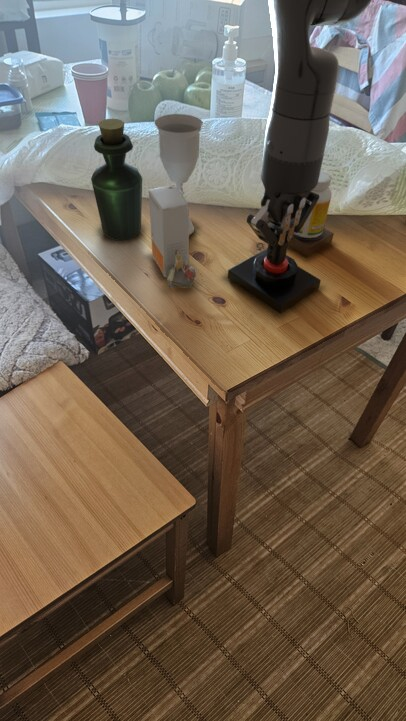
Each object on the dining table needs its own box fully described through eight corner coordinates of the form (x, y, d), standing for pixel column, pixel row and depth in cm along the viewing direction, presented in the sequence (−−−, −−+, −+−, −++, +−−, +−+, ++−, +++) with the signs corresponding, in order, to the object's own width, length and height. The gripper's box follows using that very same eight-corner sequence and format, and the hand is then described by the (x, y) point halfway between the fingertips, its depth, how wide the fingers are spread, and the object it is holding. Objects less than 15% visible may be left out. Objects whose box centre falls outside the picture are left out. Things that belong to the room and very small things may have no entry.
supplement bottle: (287, 235, 84) (297, 180, 77) (294, 219, 87) (303, 165, 80) (320, 242, 82) (332, 187, 76) (325, 225, 86) (338, 171, 79)
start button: (291, 271, 77) (293, 262, 76) (275, 281, 75) (277, 271, 74) (273, 261, 79) (275, 251, 77) (258, 270, 77) (259, 260, 76)
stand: (331, 244, 87) (334, 231, 85) (307, 258, 84) (309, 245, 82) (302, 228, 90) (304, 215, 88) (277, 241, 87) (279, 228, 85)
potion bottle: (123, 212, 92) (113, 108, 79) (155, 229, 88) (150, 123, 75) (88, 230, 87) (71, 123, 74) (120, 249, 84) (109, 140, 71)
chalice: (154, 237, 87) (149, 129, 74) (163, 216, 91) (159, 112, 78) (196, 242, 86) (199, 134, 73) (203, 220, 91) (206, 116, 77)
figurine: (183, 271, 80) (183, 238, 76) (203, 283, 78) (204, 250, 74) (158, 285, 78) (157, 252, 73) (178, 298, 76) (178, 265, 71)
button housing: (318, 288, 78) (323, 270, 76) (280, 313, 74) (283, 295, 71) (266, 256, 84) (268, 238, 81) (227, 278, 79) (228, 259, 77)
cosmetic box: (151, 257, 83) (147, 188, 74) (175, 251, 84) (174, 183, 75) (164, 278, 79) (161, 209, 70) (189, 272, 80) (190, 203, 71)
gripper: (281, 173, 58) (263, 291, 71) (350, 142, 64) (322, 255, 77) (235, 150, 62) (226, 267, 74) (305, 123, 68) (285, 234, 81)
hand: (275, 261), depth 76 cm, fingers closed
